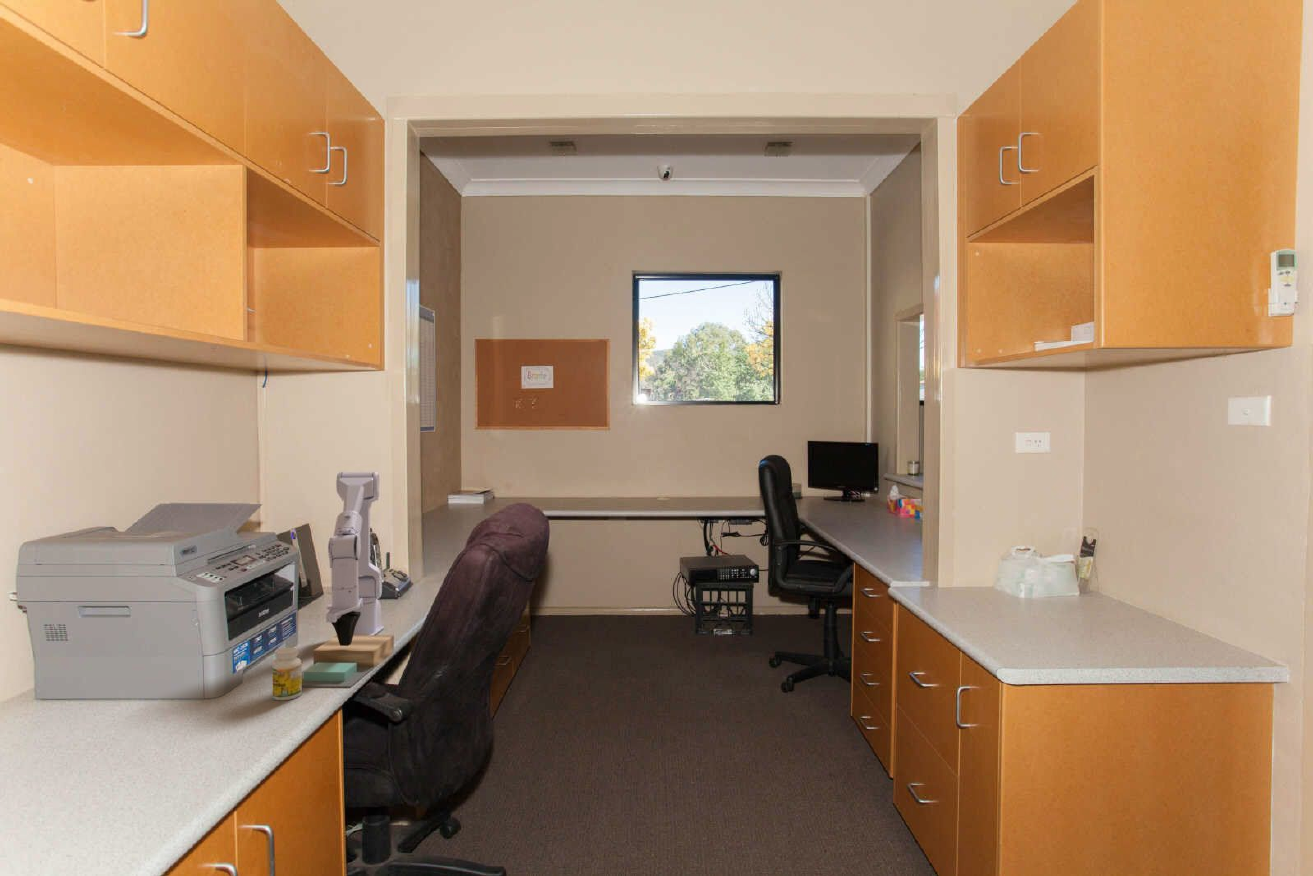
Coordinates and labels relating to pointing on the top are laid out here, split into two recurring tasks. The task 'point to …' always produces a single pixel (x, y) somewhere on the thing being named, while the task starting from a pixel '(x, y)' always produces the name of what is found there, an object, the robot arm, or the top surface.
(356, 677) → the mat
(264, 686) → the top surface
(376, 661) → the wooden block
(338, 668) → the mint green block
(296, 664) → the supplement bottle
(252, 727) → the top surface
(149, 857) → the top surface
